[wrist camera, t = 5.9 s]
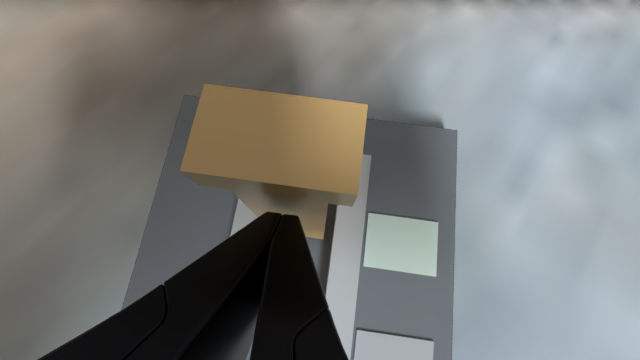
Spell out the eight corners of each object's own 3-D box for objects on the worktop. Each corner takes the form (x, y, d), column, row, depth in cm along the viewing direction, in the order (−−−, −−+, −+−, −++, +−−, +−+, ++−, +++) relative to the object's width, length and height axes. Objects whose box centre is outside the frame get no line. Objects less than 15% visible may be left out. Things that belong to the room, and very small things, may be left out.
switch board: (431, 643, 12) (462, 742, 9) (61, 574, 12) (-5, 651, 10) (448, 139, 17) (469, 117, 15) (193, 106, 18) (172, 79, 15)
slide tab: (334, 243, 14) (358, 195, 6) (262, 233, 14) (179, 170, 6) (339, 203, 15) (368, 104, 6) (270, 194, 15) (204, 83, 6)
